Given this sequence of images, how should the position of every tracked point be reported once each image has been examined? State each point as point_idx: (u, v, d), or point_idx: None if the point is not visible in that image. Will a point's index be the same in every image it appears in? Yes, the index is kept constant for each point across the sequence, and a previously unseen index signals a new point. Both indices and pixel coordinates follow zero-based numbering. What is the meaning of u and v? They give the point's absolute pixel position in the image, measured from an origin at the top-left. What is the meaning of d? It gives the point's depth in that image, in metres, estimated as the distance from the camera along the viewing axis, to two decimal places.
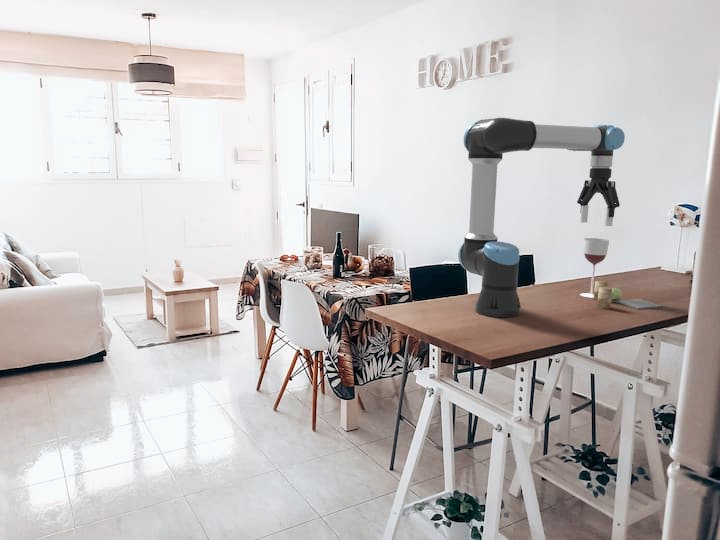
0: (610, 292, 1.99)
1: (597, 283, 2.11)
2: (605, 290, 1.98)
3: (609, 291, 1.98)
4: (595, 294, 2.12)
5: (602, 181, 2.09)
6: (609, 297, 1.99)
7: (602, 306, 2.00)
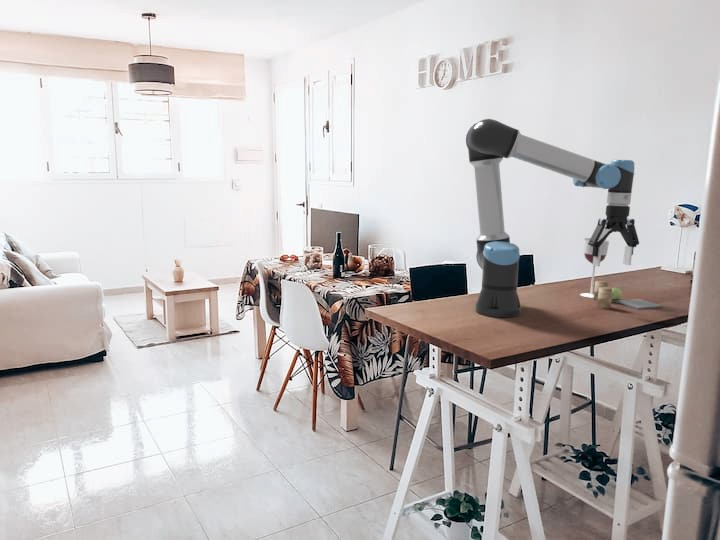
0: (610, 292, 1.99)
1: (597, 283, 2.11)
2: (605, 290, 1.98)
3: (609, 291, 1.98)
4: (595, 294, 2.12)
5: None
6: (609, 297, 1.99)
7: (602, 306, 2.00)
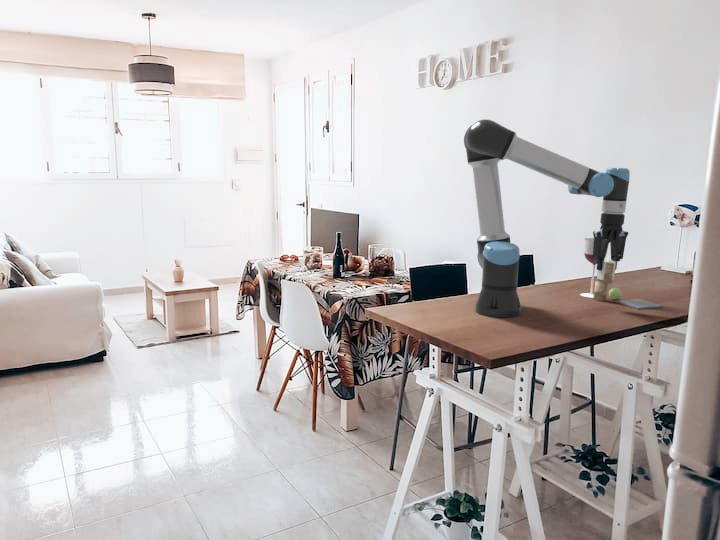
0: (612, 267, 1.97)
1: (597, 283, 2.11)
2: (607, 264, 1.97)
3: (611, 265, 1.97)
4: (595, 294, 2.12)
5: None
6: (611, 271, 1.97)
7: (603, 281, 1.98)
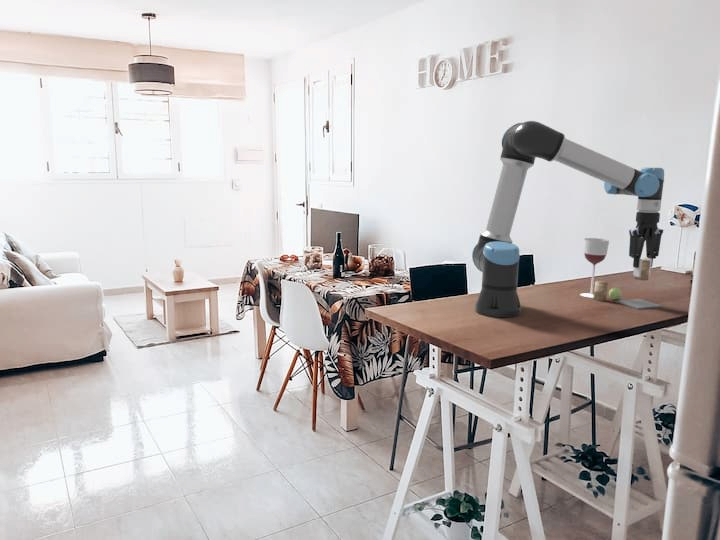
0: (648, 264, 2.02)
1: (597, 283, 2.11)
2: (643, 262, 2.01)
3: (647, 263, 2.01)
4: (595, 294, 2.12)
5: None
6: (647, 269, 2.02)
7: (640, 278, 2.03)
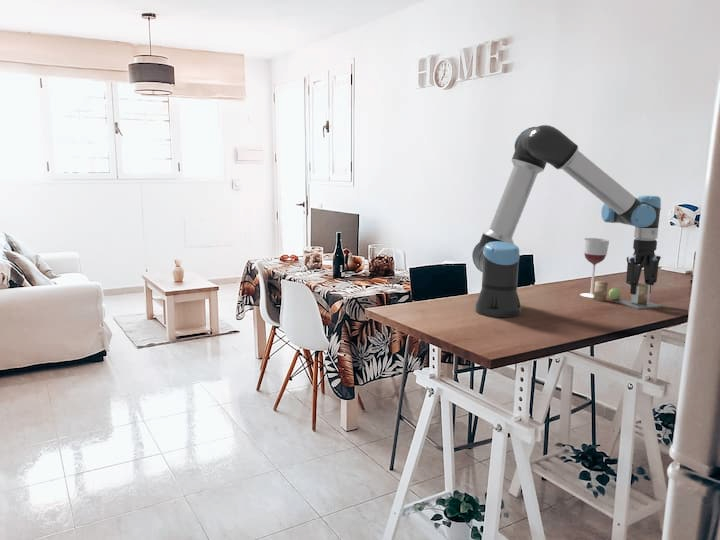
0: (646, 288, 2.03)
1: (597, 283, 2.11)
2: (641, 286, 2.03)
3: (645, 287, 2.03)
4: (595, 294, 2.12)
5: None
6: (645, 293, 2.03)
7: (638, 302, 2.04)
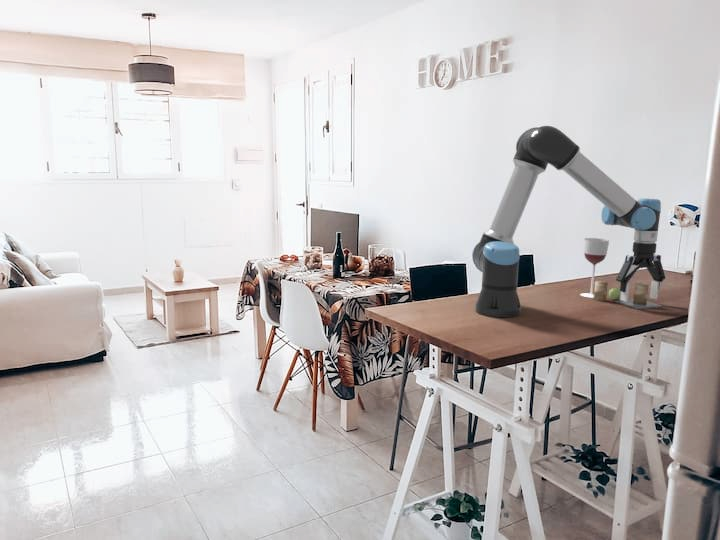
0: (647, 288, 2.03)
1: (597, 283, 2.11)
2: (642, 286, 2.03)
3: (646, 287, 2.03)
4: (595, 294, 2.12)
5: None
6: (646, 293, 2.04)
7: (639, 302, 2.04)
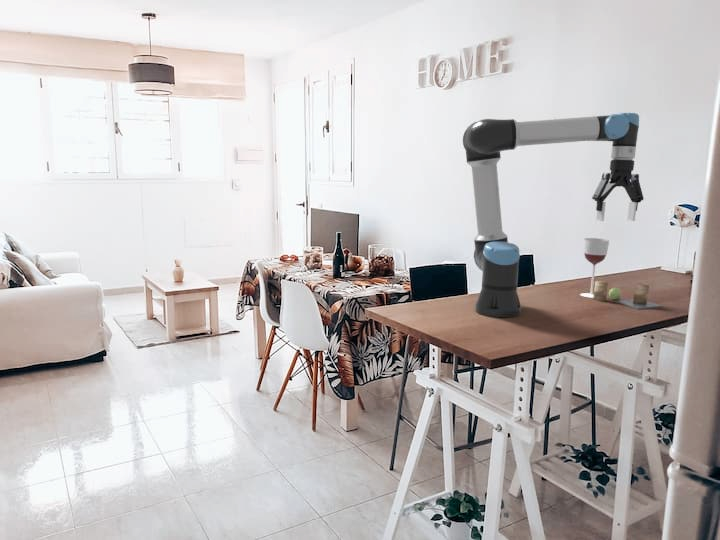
0: (648, 289, 2.03)
1: (597, 283, 2.11)
2: (643, 286, 2.03)
3: (646, 287, 2.03)
4: (595, 294, 2.12)
5: None
6: (646, 293, 2.03)
7: (639, 302, 2.04)
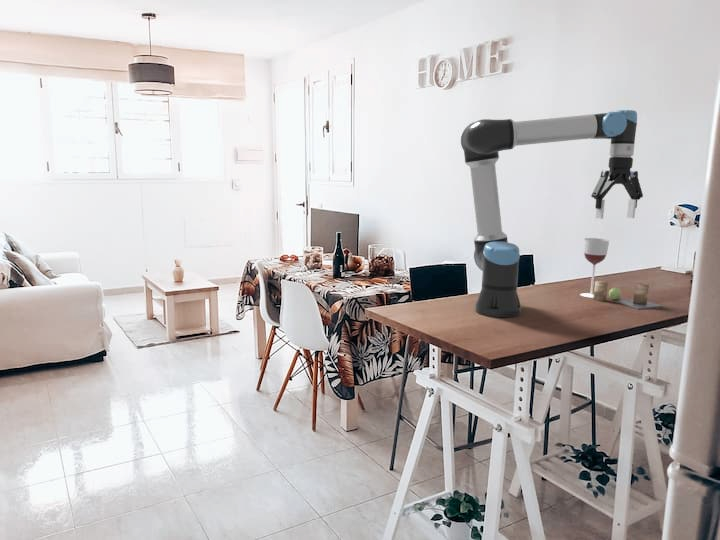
0: (648, 288, 2.04)
1: (597, 283, 2.11)
2: (643, 286, 2.03)
3: (647, 287, 2.03)
4: (595, 294, 2.12)
5: None
6: (646, 292, 2.04)
7: (639, 301, 2.04)
